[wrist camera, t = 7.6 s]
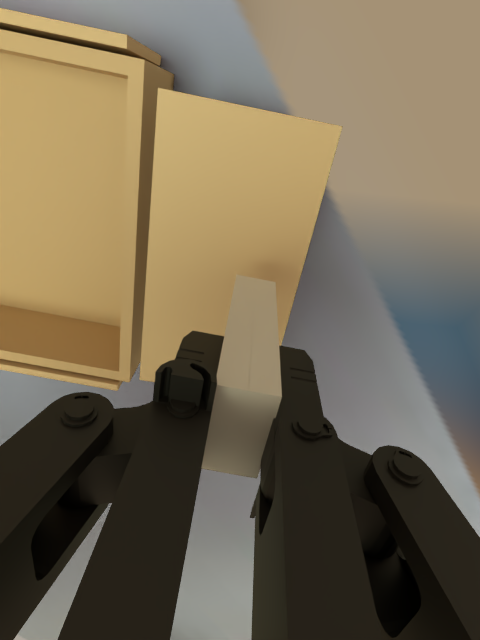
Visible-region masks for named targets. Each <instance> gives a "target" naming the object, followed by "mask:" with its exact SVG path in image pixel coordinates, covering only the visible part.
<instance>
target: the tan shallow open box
mask: <svg viewBox="0 0 480 640" xmlns="http://www.w3.org/2000/svg"><path fill="white" fill-rule="evenodd" d="M160 63H161V56H160V55H159V54H157V53H156V52H154V51H152V50H151V49H149V48H147V47H146V46H144V45H142V44H141V43H139V42H138V41H136V40H134V39H133V38H131V37H129V36H128V35H125V34H120V33H115V32H110V31H106V30H101V29H96V28H92V27H87V26H82V25H78V24H73V23H68V22H64V21H59V20H54V19H49V18H45V17H40V16H35V15H31V14H26V13H21V12H17V11H12V10H7V9H2V8H0V369H1V370H6V371H12V372H17V373H23V374H28V375H34V376H39V377H45V378H50V379H55V380H61V381H66V382H72V383H77V384H83V385H88V386H94V387H99V388H105V389H110V390H116V391H118V389H119V387H120V385H121V383H122V382H123V381H125V382H130V380H131V378H132V377H133V375H134V373H135V371H136V369H137V367H138V365H139V363H140V361H141V349H142V333H143V317H144V301H145V286H146V270H147V254H148V238H149V222H150V206H151V190H152V175H153V159H154V143H155V127H156V111H157V95H158V88H162V89H167V90H171V91H173V84H174V74H172V73H170V72H168V71H166V70H164V69H162V68H160V67H158V66H160ZM156 65H158V66H156Z"/></svg>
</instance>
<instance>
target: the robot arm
mask: <svg viewBox="0 0 480 640" xmlns="http://www.w3.org/2000/svg"><path fill="white" fill-rule="evenodd" d="M316 382H317V380H316V375H315V370H314V365H313V361H312V359H311V358H310V357H309V356H308V354H307V353H306V352H305V350H300V349H295V348H290V347H284V346H279V335H278V317H277V299H276V282H273V281H268V280H262V279H257V278H252V277H247V276H242V275H237V274H236V279H235V284H234V289H233V294H232V299H231V305H230V310H229V315H228V320H227V325H226V330H225V335H224V336H220V335H215V334H209V333H204V332H199V331H191V332H190V333H189V334H187V335H186V336H185V337H183V339H182V342H181V344H180V347H179V350H178V352H177V355H176V358H175V360H170V361H168V362H166V363H164V364H162V365H161V366H160V367H159V368H158V369H157V370H156V372H155V384H154V395H153V401H152V402H150V403H148V404H145V405H142V406H139V407H132V408H119V409H113V406H112V404H111V403H110V401H109V400H108V399H107V398H105V397H103V396H102V395H100V394H95V393H90V392H79V393H73V394H69V395H66V396H63V397H61V398H59V399H58V400H56V401H54V402H53V403H51V404H50V405H49V406H48V407H47V408H45V409H44V410H43V411H42V412H41V413H40V414H38V415H37V416H36V417H35V418H34V419H32V420H31V421H30V422H29V423H28V424H26V425H25V426H24V427H23V428H22V429H20V430H19V431H18V432H17V433H16V434H14V435H13V436H12V437H11V438H10V439H8V440H7V441H6V442H5V443H4V444H2V445H1V446H0V640H13V639H14V638H15V637H16V635H17V634H18V632H19V631H20V629H21V628H22V627H23V625H24V624H25V622H26V621H27V620H28V618H29V617H30V615H31V614H32V612H33V611H34V610H35V608H36V607H37V605H38V604H39V603H40V601H41V600H42V598H43V597H44V595H45V594H46V593H47V591H48V590H49V588H50V587H51V586H52V584H53V583H54V581H55V580H56V578H57V577H58V576H59V574H60V573H61V571H62V570H63V569H64V567H65V566H66V564H67V563H68V561H69V560H70V559H71V557H72V556H73V554H74V553H75V552H76V550H77V549H78V547H79V546H80V544H81V543H82V542H83V540H84V539H85V537H86V536H87V535H88V533H89V532H90V530H91V529H92V527H93V526H94V525H95V523H96V522H97V520H98V519H99V518H100V516H101V515H102V513H103V512H104V510H105V509H106V508H107V506H108V504H109V503H112V505H111V507H110V510H109V512H108V515H107V517H106V520H105V522H104V525H103V527H102V530H101V532H100V535H99V537H98V540H97V542H96V545H95V547H94V550H93V552H92V555H91V557H90V560H89V562H88V565H87V567H86V570H85V572H84V575H83V577H82V580H81V582H80V585H79V587H78V590H77V592H76V595H75V597H74V600H73V602H72V605H71V607H70V610H69V612H68V615H67V617H66V620H65V622H64V625H63V627H62V630H61V632H60V635H59V637H58V640H170V636H171V631H172V625H173V620H174V614H175V609H176V603H177V598H178V592H179V587H180V582H181V576H182V571H183V565H184V560H185V554H186V549H187V544H188V538H189V533H190V527H191V522H192V516H193V511H194V506H195V500H196V495H197V489H198V484H199V478H200V473H201V469H207V470H213V471H218V472H224V473H229V474H235V475H241V476H246V477H252V478H257V477H258V474H259V470H260V467H261V481H260V485H259V489H258V492H257V495H256V498H255V501H254V504H253V508H252V511H251V515H250V518H255V545H254V577H253V609H252V640H480V537H479V536H478V535H477V533H476V532H475V530H474V529H473V528H472V526H471V525H470V523H469V522H468V521H467V519H466V518H465V516H464V515H463V514H462V512H461V511H460V509H459V508H458V507H457V505H456V504H455V502H454V501H453V500H452V498H451V497H450V495H449V494H448V493H447V491H446V490H445V489H444V487H443V486H442V484H441V483H440V482H439V480H438V479H437V477H436V476H435V475H434V473H433V472H432V470H431V469H430V468H429V467H428V466H427V465H426V464H425V463H424V462H423V460H421V459H420V458H419V457H417V456H416V455H414V454H413V453H411V452H410V451H407V450H405V449H402V448H400V447H395V446H389V445H388V446H383V447H379V448H378V449H377V450H376V451H375V452H374V453H373V455H370V454H368V453H365V452H363V451H361V450H359V449H356V448H354V447H352V446H350V445H348V444H346V443H344V442H343V441H341V440H340V439H339V438H338V437H337V433H336V431H335V429H334V427H333V425H332V424H331V423H330V422H329V421H328V420H327V419H326V418H325V417H323V412H322V406H321V401H320V396H319V391H318V386H317V383H316Z"/></svg>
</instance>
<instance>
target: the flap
mask: <svg viewBox="0 0 480 640" xmlns="http://www.w3.org/2000/svg"><path fill="white" fill-rule="evenodd" d="M341 130H342V126H338V125H333V124H328V123H324V122H319V121H314V120H309V119H304V118H300V117H295V116H290V115H286V114H281V113H276V112H271V111H267V110H262V109H257V108H252V107H248V106H243V105H238V104H233V103H229V102H224V101H219V100H214V99H210V98H205V97H200V96H195V95H190V94H186V93H181V92H176V91H171V90H167V89H162V88H158V95H157V111H156V127H155V143H154V159H153V175H152V190H151V206H150V222H149V238H148V254H147V270H146V286H145V301H144V317H143V333H142V349H141V365H140V380H144V381H151V382H155V372H156V370H157V369H158V368H159V367H160V366H161V365H162V364H164V363H166V362H168V361H170V360H175V358H176V355H177V352H178V350H179V347H180V344H181V342H182V339H183V337H185V336H186V335H187V334H189V333H190V332H191V331H199V332H204V333H209V334H215V335H220V336H224V335H225V330H226V325H227V320H228V315H229V310H230V305H231V299H232V294H233V289H234V284H235V279H236V274H237V275H242V276H247V277H252V278H257V279H262V280H268V281H273V282H276V299H277V317H278V335H279V346H281V344H282V341H283V337H284V333H285V330H286V326H287V323H288V319H289V316H290V312H291V308H292V305H293V301H294V298H295V294H296V291H297V287H298V284H299V280H300V276H301V273H302V269H303V266H304V262H305V259H306V255H307V251H308V248H309V244H310V241H311V237H312V234H313V230H314V227H315V223H316V219H317V216H318V212H319V209H320V205H321V202H322V198H323V194H324V191H325V187H326V184H327V180H328V177H329V173H330V169H331V166H332V162H333V159H334V155H335V151H336V148H337V144H338V141H339V137H340V133H341Z"/></svg>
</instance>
